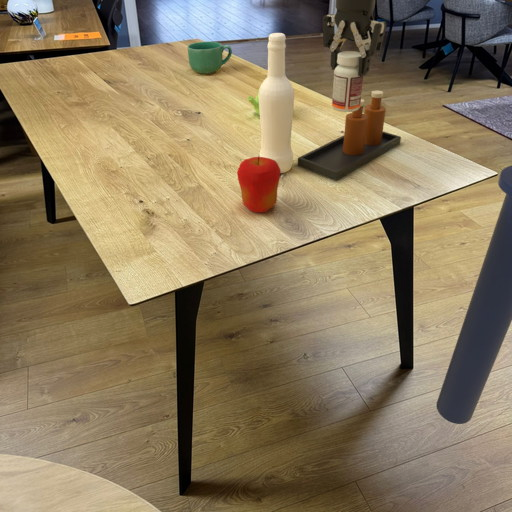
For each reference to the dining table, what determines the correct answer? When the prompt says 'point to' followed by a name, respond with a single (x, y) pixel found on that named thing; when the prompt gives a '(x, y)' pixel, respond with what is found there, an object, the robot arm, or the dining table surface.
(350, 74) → the pill bottle
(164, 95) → the dining table surface
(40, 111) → the dining table surface
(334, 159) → the tray
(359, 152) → the amber bottle near
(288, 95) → the bottle
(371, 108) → the amber bottle far
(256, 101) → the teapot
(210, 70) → the mug
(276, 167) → the apple
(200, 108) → the dining table surface
